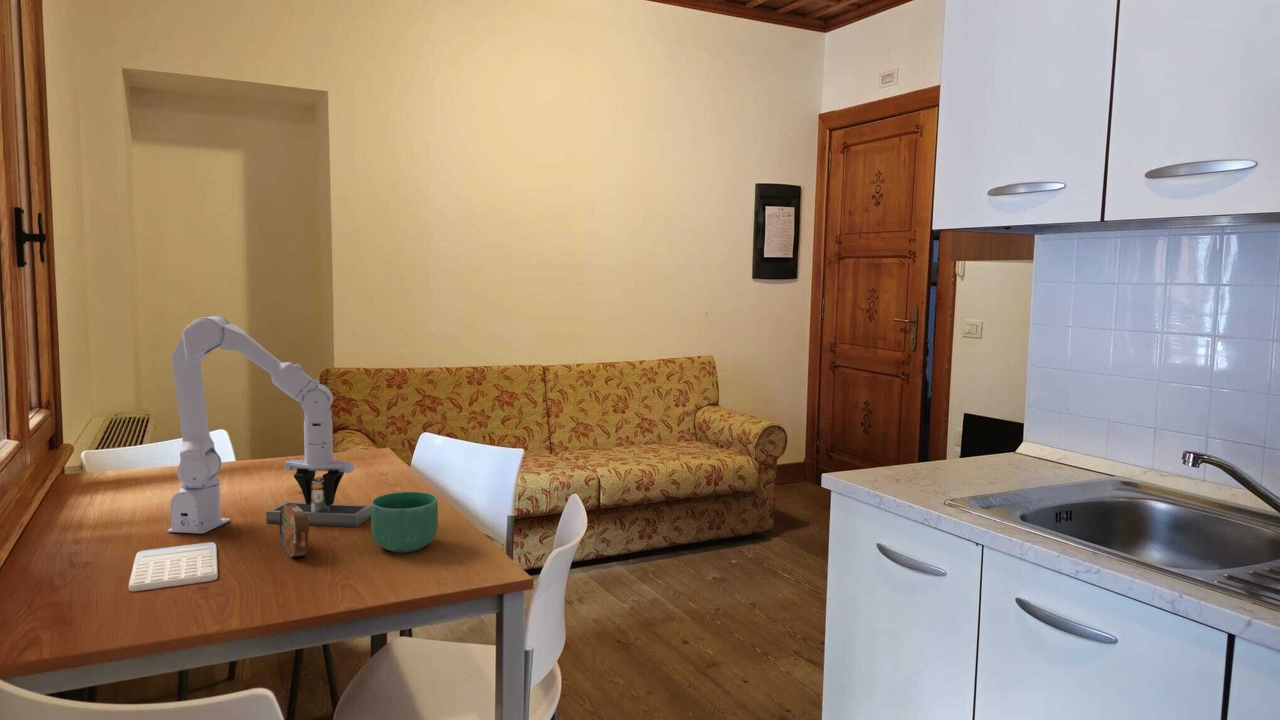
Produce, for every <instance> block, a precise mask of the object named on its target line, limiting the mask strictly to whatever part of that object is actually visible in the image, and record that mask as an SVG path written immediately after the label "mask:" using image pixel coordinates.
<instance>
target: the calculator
mask: <svg viewBox="0 0 1280 720" xmlns="http://www.w3.org/2000/svg"><path fill="white" fill-rule="evenodd" d="M218 570H219V569H218V551H217V544H216V543H215V542H202V543H195V544H186V545H179V546H178V545H176V546H169V547H168V546H167V547H161V548H160V547H159V548H152V549H145V550H139V551H138V552H136V555H135V557H134V561H133V565H132V570H131V574H130V577H129V581H128V591H129V592H141V591H146V590H147V591H148V590H154V589H162V588H168V587H169V588H170V587H176V586H182V585H183V586H185V585H191V584H192V585H193V584H199V583H205V582H211V581H216V580H217V579H218V576H219V574H218V572H219V571H218Z"/></svg>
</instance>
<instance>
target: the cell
mask: <svg viewBox="0 0 1280 720" xmlns="http://www.w3.org/2000/svg"><path fill="white" fill-rule="evenodd" d="M310 501H311V512H319V513H328V512H330V511H331V510H330V506H327V505H326V490H325V484H324V480H323V475H322V476H317V477H316V476H315V479H311V480H310Z"/></svg>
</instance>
